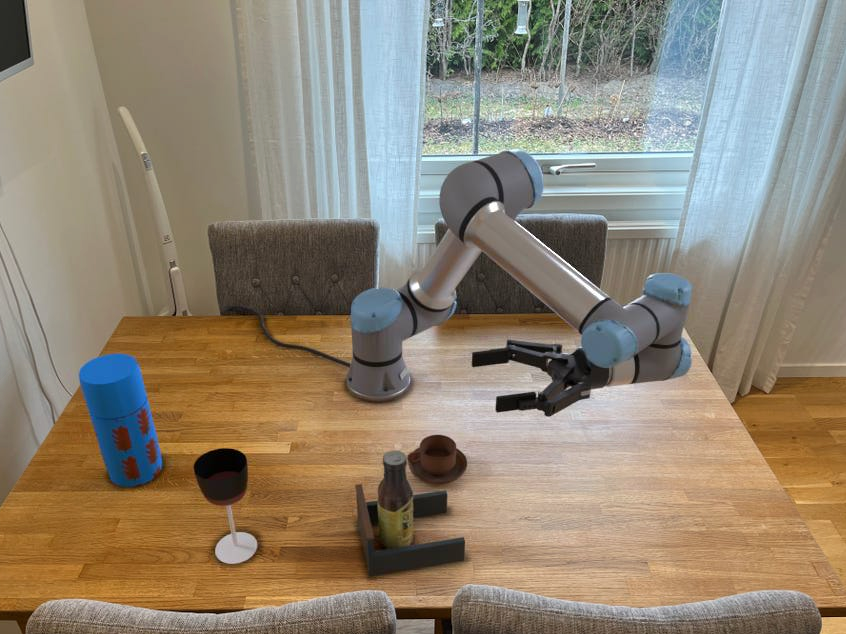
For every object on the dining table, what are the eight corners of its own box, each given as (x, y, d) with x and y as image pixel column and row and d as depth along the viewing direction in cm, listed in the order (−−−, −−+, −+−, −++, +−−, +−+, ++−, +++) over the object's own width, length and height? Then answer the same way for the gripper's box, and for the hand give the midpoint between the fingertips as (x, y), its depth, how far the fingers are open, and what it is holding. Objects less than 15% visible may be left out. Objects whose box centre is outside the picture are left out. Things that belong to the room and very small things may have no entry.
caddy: (445, 508, 138) (446, 471, 132) (464, 561, 127) (466, 522, 122) (357, 522, 135) (355, 484, 130) (368, 577, 124) (367, 538, 119)
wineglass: (214, 532, 133) (197, 449, 122) (262, 529, 133) (249, 446, 123) (208, 566, 126) (189, 481, 115) (258, 562, 127) (244, 478, 116)
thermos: (173, 458, 151) (150, 358, 137) (142, 492, 142) (114, 389, 129) (130, 448, 154) (103, 349, 140) (97, 480, 145) (64, 378, 132)
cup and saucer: (426, 497, 140) (426, 473, 137) (398, 461, 149) (397, 438, 146) (478, 477, 145) (479, 454, 142) (447, 443, 154) (448, 421, 151)
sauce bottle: (409, 558, 127) (409, 474, 117) (375, 553, 128) (371, 469, 118) (416, 531, 133) (416, 448, 122) (383, 527, 134) (380, 444, 123)
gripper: (631, 427, 116) (506, 444, 113) (570, 347, 137) (462, 360, 133) (639, 389, 112) (509, 406, 109) (575, 313, 133) (464, 325, 129)
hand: (483, 381), depth 121 cm, fingers open, 13 cm apart
